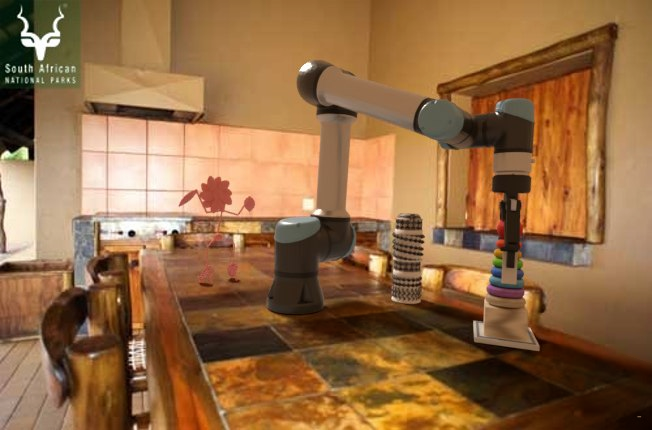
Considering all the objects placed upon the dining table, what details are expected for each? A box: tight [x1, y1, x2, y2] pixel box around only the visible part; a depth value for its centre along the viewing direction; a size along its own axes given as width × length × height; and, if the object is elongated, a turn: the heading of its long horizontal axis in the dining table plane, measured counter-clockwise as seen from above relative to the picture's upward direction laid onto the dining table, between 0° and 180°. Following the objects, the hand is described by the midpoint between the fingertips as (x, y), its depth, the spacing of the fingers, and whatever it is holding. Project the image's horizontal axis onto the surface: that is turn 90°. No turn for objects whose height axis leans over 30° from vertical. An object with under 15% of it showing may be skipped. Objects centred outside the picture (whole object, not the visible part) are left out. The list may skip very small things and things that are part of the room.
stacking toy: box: [484, 220, 527, 308], centre depth 85 cm, size 8×8×19 cm
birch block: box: [482, 298, 529, 341], centre depth 85 cm, size 8×8×6 cm
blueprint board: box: [472, 320, 540, 352], centre depth 85 cm, size 12×12×1 cm
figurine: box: [178, 175, 256, 285], centre depth 133 cm, size 15×26×35 cm, turn 135°
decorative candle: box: [390, 212, 426, 305], centre depth 113 cm, size 9×9×25 cm
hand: (506, 278), depth 85 cm, fingers open, 10 cm apart
